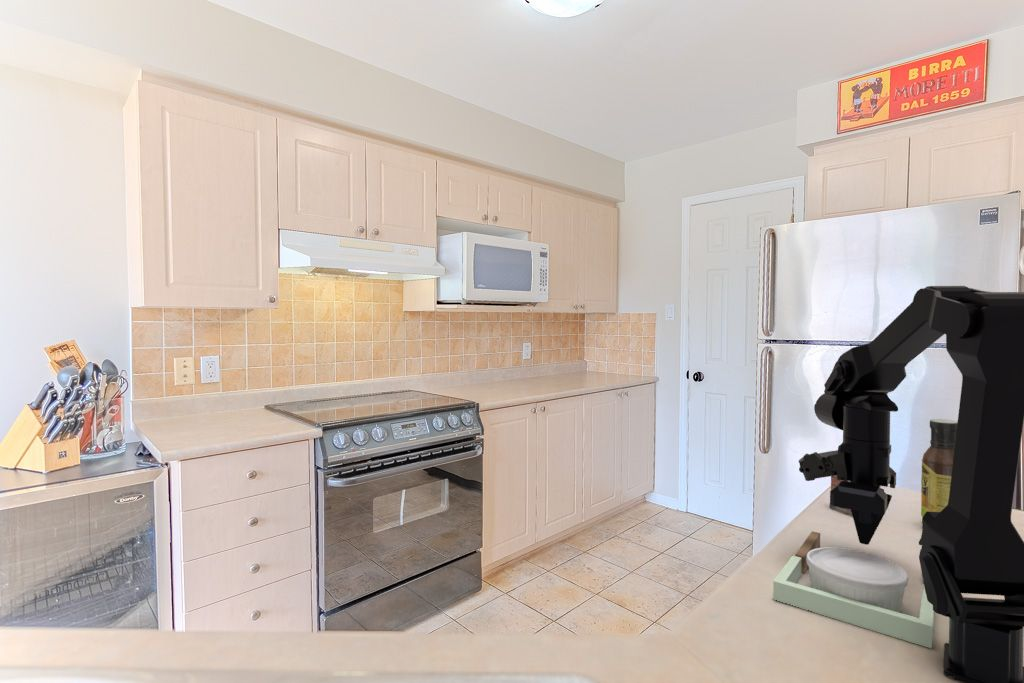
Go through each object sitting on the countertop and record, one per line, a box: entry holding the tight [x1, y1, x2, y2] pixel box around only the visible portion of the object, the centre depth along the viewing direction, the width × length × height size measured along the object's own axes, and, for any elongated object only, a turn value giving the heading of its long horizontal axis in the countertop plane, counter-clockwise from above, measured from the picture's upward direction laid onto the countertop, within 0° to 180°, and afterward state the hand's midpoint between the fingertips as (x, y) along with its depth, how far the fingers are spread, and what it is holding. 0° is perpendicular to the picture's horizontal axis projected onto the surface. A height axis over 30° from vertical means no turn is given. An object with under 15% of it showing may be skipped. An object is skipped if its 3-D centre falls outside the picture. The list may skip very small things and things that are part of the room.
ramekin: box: [806, 546, 909, 613], centre depth 69 cm, size 11×11×5 cm
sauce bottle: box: [920, 418, 958, 518], centre depth 93 cm, size 6×6×20 cm
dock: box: [772, 555, 936, 650], centre depth 68 cm, size 10×16×2 cm, turn 50°
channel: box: [794, 531, 924, 584], centre depth 77 cm, size 12×16×3 cm
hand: (864, 543), depth 77 cm, fingers closed
